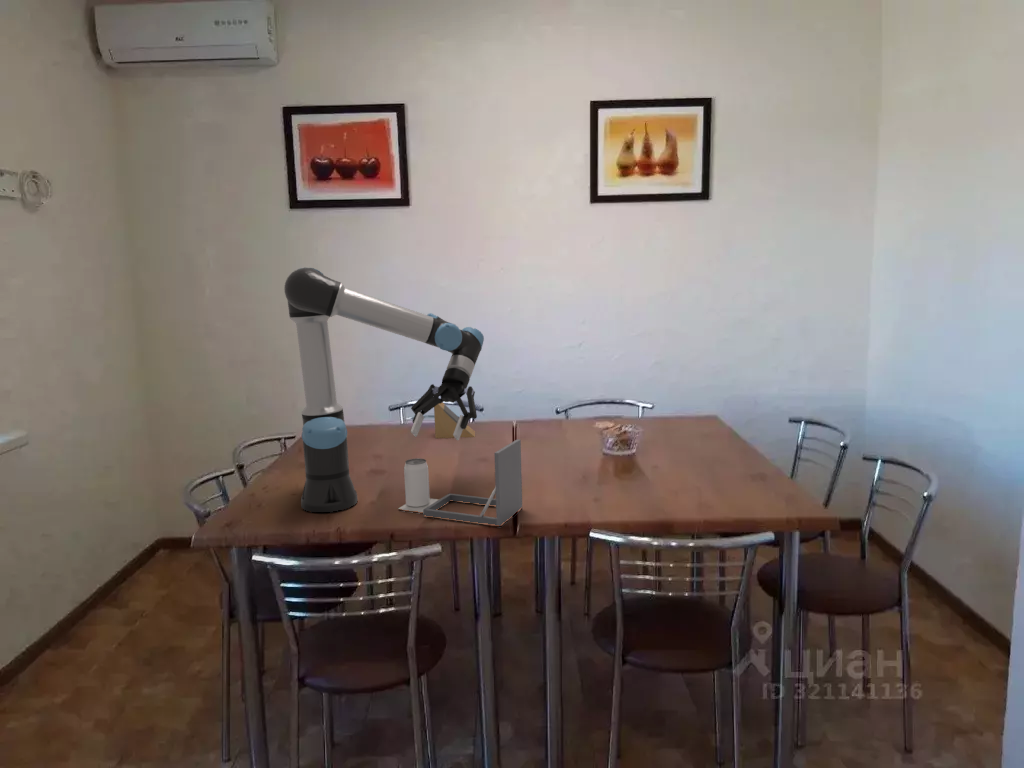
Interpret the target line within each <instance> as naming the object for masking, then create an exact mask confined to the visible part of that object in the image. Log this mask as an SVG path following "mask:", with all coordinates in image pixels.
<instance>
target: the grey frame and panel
mask: <svg viewBox="0 0 1024 768" xmlns="http://www.w3.org/2000/svg"><path fill="white" fill-rule="evenodd" d="M521 440H522V439H515V440H514V441H512V442H510V443H509V444H506V445H505V446H504V447H501V448H499V450H497V451H495V452H494V455H493V456H494V477H495V478H494V481H495V487H494V489H493V490H492V492H491V494H490V496H489V497H485V496H484V497H482V496H474V495H466V494H458V493H448V494H446V495H444V496H442V497H441V498H439V499H438V501H436V502H435V503H433V504H431V505H430V506H428V507H427V508H425V509H424V510H423V514H422V515H423V516H424V515H426V516H433V517H441V518H449V519H456V520H463V521H470V522H478V523H488V524H495V525H499V526H500V525H501V524H502V523H503V522H505V521H506V520H507V519H509V518H510V517H511V516H513V515H514V514H515V513H516V512H517V511H518V510H519V509H520V508H521V507H522V508H523V488H522V487H523V485H522V484H523V482H522V479H523V476H522V475H523V474H522V446H521V445H522V444H521ZM494 497H495V498H494ZM450 500H453V501H463V502H470V503H479V504H486V505H485V506H483V509H482V510H481V512H480V514H479V515H478V514H473V513H472V514H470V513H462V512H457V511H456V512H455V511H449V510H442V509H439V510H436V509H438V508H440V507H441V506H443V505H444V504H446V503H447V502H449V501H450ZM489 504H490V505H496V507H495V511H496V513H495V514H496V517H492V516H485V513H486V511H487V510H488V508H489Z"/></svg>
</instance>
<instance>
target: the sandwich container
mask: <svg viewBox="0 0 1024 768" xmlns="http://www.w3.org/2000/svg"><path fill="white" fill-rule="evenodd" d="M433 415H434V418H433V419H434V435H435V437H434V438H435V439H455V437H454V436H453V434H454V431H455V428H456V425H457V423H458V420H459V417H460V416H458V414H456V413H455V412H454V411H453V410H452V409H450V408H449V407H448V406H447V405H446V404H445V402H442V403H441V404H440V403H439V404H438V405H436V406H435V407H434V408H433ZM475 432H476V430H474V429H473V428H471V426H469V425H468V424H467V427H466V428H465V429H463V431H462V433H461V436H460V437H465V438H475V437H476V436H475Z"/></svg>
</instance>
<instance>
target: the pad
mask: <svg viewBox="0 0 1024 768" xmlns="http://www.w3.org/2000/svg"><path fill="white" fill-rule="evenodd" d="M438 500H439V499H438V498H430V502H429V504H428V505H426V506H423V507H409V506H408V505H407V504H406V503H405V504H403V505H402V506H400V507H399V508H398V509H402V510H409V511H418V512H423V510H424V509H425V508H427V507H428V506H430V505H431V504H433V503H435V502H436V501H438ZM398 509H397V510H398Z"/></svg>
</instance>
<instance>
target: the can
mask: <svg viewBox="0 0 1024 768" xmlns="http://www.w3.org/2000/svg"><path fill="white" fill-rule="evenodd" d="M404 463H405V464H404V467H403V475H404V476H403V477H404V493H405V504H407V505H408V506H409V507H423V506H426V505H428V504H429V502H430V499H431V497H430V477H429V475H430V474H429V467H428V463H427V460H426V458H421V457H420V458H419V457H418V458H417V457H416V458H410V459H409V458H408V459H406V460H405V462H404Z"/></svg>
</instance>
